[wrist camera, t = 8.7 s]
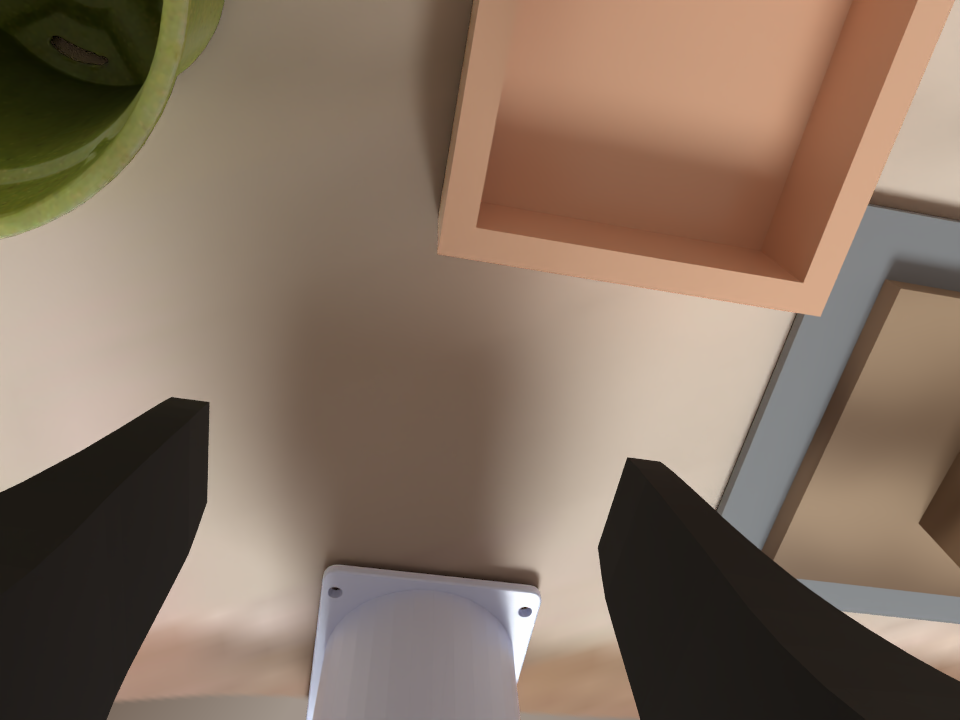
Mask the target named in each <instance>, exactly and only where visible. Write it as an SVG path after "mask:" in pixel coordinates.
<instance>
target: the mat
mask: <svg viewBox="0 0 960 720" xmlns="http://www.w3.org/2000/svg"><path fill="white" fill-rule="evenodd" d="M885 279H887V280H893V281H899V282H905V283H911V284H916V285H922V286H928V287H934V288H939V289H945V290H951V291H957V292H960V221H959V220H953V219H948V218H943V217H937V216H932V215H927V214H921V213H916V212H910V211H905V210H900V209H894V208H889V207H884V206H878V205H873V204H868V206H867V208H866V211H865V213H864V215H863V218H862V220H861V222H860V225H859V227H858V229H857V232H856V234H855V237H854V239H853V241H852V244H851V246H850V248H849V251H848V253H847V255H846V258H845V260H844V262H843V265H842V267H841V269H840V272H839V274H838V277H837V279H836V281H835V284H834V286H833V288H832V291H831V293H830V295H829V298H828V300H827V302H826V305H825V307H824V309H823V312H822V314H821V317H819V316H813V315H806V314H800V313H797V316H796V318H795V320H794V323H793V325H792V328H791V330H790V333H789V335H788V338H787V340H786V342H785V345H784V347H783V350H782V352H781V355H780V357H779V360H778V362H777V364H776V367H775V369H774V372H773V374H772V377H771V379H770V382H769V384H768V386H767V389H766V391H765V394H764V396H763V399H762V401H761V404H760V406H759V409H758V411H757V413H756V416H755V418H754V421H753V423H752V426H751V428H750V431H749V433H748V435H747V438H746V440H745V443H744V445H743V448H742V450H741V453H740V455H739V457H738V460H737V462H736V465H735V467H734V470H733V472H732V475H731V477H730V479H729V482H728V484H727V487H726V489H725V492H724V494H723V497H722V499H721V501H720V504H719V506H718V509H717V512H718V513H719V514H720V515H721V516H722V517H723V518H724V519H725V520H727V521H728V522H729V523H730V524H731V525H732V526H733V527H734V528H735V529H737V530H738V531H739V532H740V533H741V534H742V535H743V536H745V537H746V538H747V539H748V540H749V541H750V542H752V543H753V544H754V545H755V546H756V547H757V548H759V549H760V550H761V551H762V549H763V546H764V544H765V542H766V540H767V538H768V535H769V533H770V531H771V529H772V527H773V524H774V522H775V520H776V518H777V516H778V513H779V511H780V509H781V507H782V505H783V503H784V500H785V498H786V496H787V494H788V492H789V489H790V487H791V485H792V483H793V481H794V478H795V476H796V474H797V472H798V470H799V467H800V465H801V463H802V461H803V459H804V457H805V454H806V452H807V450H808V448H809V446H810V443H811V441H812V439H813V437H814V435H815V432H816V430H817V428H818V426H819V424H820V421H821V419H822V417H823V415H824V413H825V411H826V408H827V406H828V404H829V402H830V400H831V397H832V395H833V393H834V391H835V389H836V386H837V384H838V382H839V380H840V378H841V375H842V373H843V371H844V369H845V367H846V365H847V362H848V360H849V358H850V356H851V354H852V351H853V349H854V347H855V345H856V343H857V340H858V338H859V336H860V334H861V332H862V329H863V327H864V325H865V323H866V321H867V319H868V316H869V314H870V312H871V310H872V308H873V305H874V303H875V301H876V299H877V297H878V294H879V292H880V290H881V288H882V286H883V283H884V281H885ZM797 580H798V581H800V582H801V583H802V584H804V585H805V586H806V587H808V588H809V589H810V590H812V591H813V592H815V593H816V594H817V595H819V596H820V597H822V598H823V599H824V600H826V601H827V602H829V603H830V604H832V605H833V606H834V607H836V608H837V609H839V610H840V611H845V612H854V613H863V614H872V615H882V616H891V617H900V618H909V619H918V620H928V621H937V622H946V623H955V624H960V597H954V596H945V595H937V594H928V593H919V592H910V591H901V590H893V589H884V588H875V587H866V586H857V585H849V584H840V583H831V582H822V581H814V580H805V579H797Z"/></svg>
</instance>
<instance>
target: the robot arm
mask: <svg viewBox="0 0 960 720" xmlns="http://www.w3.org/2000/svg"><path fill="white" fill-rule="evenodd" d="M208 441H209V402H204V401H196V400H189V399H181V398H174V397H171V398H169V399H167V400H165V401H163V402H162V403H160V404H158V405H157V406H155V407H153V408H152V409H150V410H148V411H147V412H145V413H143V414H142V415H140V416H139V417H137V418H135V419H134V420H132V421H131V422H129V423H127V424H126V425H124V426H122V427H121V428H119V429H117V430H116V431H114V432H112V433H111V434H109V435H107V436H106V437H104V438H102V439H100V440H99V441H97V442H95V443H94V444H92V445H90V446H89V447H87V448H85V449H84V450H82V451H80V452H78V453H76V454H75V455H73V456H71V457H69V458H67V459H65V460H63V461H61V462H59V463H58V464H56V465H54V466H52V467H50V468H48V469H46V470H44V471H42V472H41V473H39V474H37V475H35V476H33V477H31V478H29V479H27V480H25V481H24V482H21V483H19V484H17V485H15V486H13V487H11V488H9V489H7V490H5V491H3V492H0V720H106V719H107V717H108V715H109V712H110V709H111V707H112V704H113V702H114V700H115V697H116V695H117V693H118V691H119V689H120V687H121V685H122V682H123V680H124V678H125V676H126V674H127V672H128V670H129V668H130V666H131V664H132V662H133V660H134V658H135V656H136V655H137V653H138V651H139V649H140V647H141V645H142V643H143V641H144V639H145V637H146V635H147V633H148V632H149V630H150V628H151V626H152V624H153V622H154V620H155V618H156V616H157V614H158V612H159V610H160V609H161V607H162V605H163V603H164V601H165V599H166V597H167V595H168V593H169V591H170V589H171V587H172V585H173V584H174V582H175V580H176V578H177V576H178V574H179V572H180V570H181V568H182V566H183V564H184V562H185V560H186V558H187V556H188V554H189V551H190V549H191V546H192V543H193V540H194V538H195V535H196V532H197V530H198V527H199V524H200V521H201V518H202V515H203V512H204V509H205V507H206V504H207V483H208ZM598 552H599V559H600V567H601V575H602V581H603V587H604V593H605V599H606V603H607V606H608V610H609V614H610V617H611V621H612V624H613V628H614V631H615V635H616V638H617V642H618V645H619V648H620V652H621V655H622V659H623V662H624V665H625V669H626V672H627V675H628V679H629V682H630V686H631V689H632V692H633V696H634V699H635V702H636V706H637V709H638V713H639V716H640V720H960V681H958V680H956V679H954V678H952V677H950V676H948V675H946V674H944V673H942V672H940V671H939V670H937V669H935V668H933V667H932V666H930V665H928V664H926V663H924V662H923V661H921V660H919V659H917V658H915V657H914V656H912V655H910V654H908V653H907V652H905V651H903V650H902V649H900V648H898V647H897V646H895V645H894V644H892V643H890V642H889V641H887V640H885V639H884V638H882V637H880V636H879V635H877V634H875V633H874V632H872V631H870V630H869V629H867V628H866V627H864V626H863V625H861V624H860V623H858V622H856V621H855V620H853V619H852V618H850V617H849V616H847V615H846V614H844V613H843V612H841V611H840V610H839V609H837V608H836V607H834V606H833V605H832V604H830V603H829V602H827V601H826V600H824V599H823V598H822V597H820V596H819V595H817V594H816V593H815V592H813V591H812V590H810V589H809V588H808V587H806V586H805V585H804V584H802V583H801V582H800V581H798V580H797V579H796V578H794V577H793V576H792V575H790V574H789V573H788V572H787V571H785V570H784V569H783V568H782V567H781V566H779V565H778V564H777V563H776V562H774V561H773V560H772V559H771V558H769V557H768V556H767V555H766V554H765V553H763V552H762V551H761V550H760V549H759V548H757V547H756V546H755V545H754V544H753V543H752V542H750V541H749V540H748V539H747V538H746V537H745V536H743V535H742V534H741V533H740V532H739V531H738V530H737V529H735V528H734V527H733V526H732V525H731V524H730V523H729V522H728V521H727V520H725V519H724V518H723V517H722V516H721V515H720V514H719V513H718V512H717V511H716V510H714V509H713V508H712V507H711V506H710V505H709V504H708V503H707V502H706V501H705V500H704V499H703V498H701V497H700V496H699V495H698V494H697V493H696V492H695V491H694V490H693V489H692V488H691V487H689V486H688V485H687V484H686V483H685V482H684V481H683V480H682V479H681V478H679V477H678V476H677V475H676V474H675V473H674V472H673V471H671V470H670V469H669V468H668V467H666V466H665V465H664V464H663V463H661V462H658V461H651V460H643V459H636V458H628V457H627V460H626V463H625V466H624V469H623V472H622V475H621V478H620V481H619V484H618V487H617V491H616V494H615V497H614V500H613V503H612V506H611V509H610V512H609V515H608V518H607V521H606V524H605V527H604V530H603V533H602V536H601V539H600V542H599V545H598ZM332 587H337V588H340V590H334V589H332ZM540 604H541V595H540V591H539V589H538V588H536V587H535V586H532V585H525V584H516V583H506V582H497V581H488V580H478V579H469V578H460V577H450V576H441V575H432V574H422V573H413V572H404V571H394V570H385V569H376V568H366V567H357V566H348V565H332V566H329V567H328V568H327V569H326V570H325V572H324V575H323V579H322V588H321V596H320V605H319V613H318V622H317V630H316V639H315V647H314V656H313V665H312V673H311V682H310V690H309V699H308V708H307V716H306V720H521V719H520V710H519V701H518V692H517V682H518V678H519V675H520V672H521V668H522V665H523V661H524V658H525V655H526V651H527V648H528V645H529V641H530V638H531V634H532V631H533V628H534V624H535V621H536V618H537V614H538V611H539V608H540ZM522 607H529V608H527V609H520V608H522Z"/></svg>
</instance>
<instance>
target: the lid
mask: <svg viewBox="0 0 960 720" xmlns="http://www.w3.org/2000/svg"><path fill="white" fill-rule="evenodd" d="M762 552H763V553H765V554H766V555H767V556H768V557H769V558H771V559H772V560H773V561H774V562H776V563H777V564H778V565H779V566H781V567H782V568H783V569H784V570H785V571H787V572H788V573H789V574H790V575H792V576H793V577H794V578H796V579H805V580H814V581H822V582H831V583H840V584H849V585H857V586H866V587H875V588H884V589H893V590H901V591H910V592H919V593H928V594H937V595H945V596H954V597H960V292H957V291H951V290H945V289H939V288H934V287H928V286H922V285H916V284H911V283H905V282H899V281H893V280H887V279H885V281H884V283H883V286H882V288H881V290H880V292H879V294H878V297H877V299H876V301H875V303H874V305H873V308H872V310H871V312H870V314H869V316H868V319H867V321H866V323H865V325H864V327H863V329H862V332H861V334H860V336H859V338H858V340H857V343H856V345H855V347H854V349H853V351H852V354H851V356H850V358H849V360H848V362H847V365H846V367H845V369H844V371H843V373H842V375H841V378H840V380H839V382H838V384H837V386H836V389H835V391H834V393H833V395H832V397H831V400H830V402H829V404H828V406H827V408H826V411H825V413H824V415H823V417H822V419H821V421H820V424H819V426H818V428H817V430H816V432H815V435H814V437H813V439H812V441H811V443H810V446H809V448H808V450H807V452H806V454H805V457H804V459H803V461H802V463H801V465H800V467H799V470H798V472H797V474H796V476H795V478H794V481H793V483H792V485H791V487H790V489H789V492H788V494H787V496H786V498H785V500H784V503H783V505H782V507H781V509H780V511H779V513H778V516H777V518H776V520H775V522H774V524H773V527H772V529H771V531H770V533H769V535H768V538H767V540H766V542H765V544H764V546H763V549H762Z"/></svg>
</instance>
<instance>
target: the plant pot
mask: <svg viewBox="0 0 960 720" xmlns="http://www.w3.org/2000/svg"><path fill="white" fill-rule="evenodd" d="M223 4H224V0H0V239H3V238H7V237H12V236H16V235H18V234H21V233H24V232H26V231H29V230H32V229H35V228H37V227H40V226H42V225H45V224H47V223H49V222H51V221H53V220H55V219H57V218H59V217H61V216H63V215H65V214H67V213H69V212H70V211H72V210H74V209H75V208H77V207H78V206H80V205H82V204H83V203H85V202H86V201H87V200H89V199H90V198H91V197H92V196H94V195H95V194H96V193H97V192H99V191H100V190H101V189H102V188H103V187H105V186H106V185H107V184H108V183H109V182H111V181H112V180H113V179H114V178H115V177H116V176H117V175H118V174H119V173H120V172H121V171H122V170H123V169H124V168H125V167H126V166H127V165H128V164H129V163H130V161H131V160H132V159H133V158H134V156H135V155H136V154H137V153H138V151H139V150H140V149H141V148H142V146H143V145H144V144H145V142H146V140H147V139H148V137H149V135H150V134H151V132H152V130H153V129H154V127H155V125H156V123H157V122H158V120H159V118H160V117H161V115H162V113H163V111H164V108H165V106H166V104H167V101H168V99H169V97H170V95H171V92H172V89H173V86H174V84H175V81H176V78H177V76H178V75H179V74H180V73H182V72H183V71H184V70H185V69H187V68H188V67H189V66H190V65H191V64H192V63H193V62H194V61H195V60H196V59H197V57H198V56H199V55H200V54H201V53H202V51H203V50H204V49H205V47H206V46H207V44H208V42H209V41H210V39H211V37H212V36H213V34H214V32H215V30H216V28H217V25H218V23H219V20H220V17H221V13H222V9H223ZM52 36H60V37H62V38H63V39H65V40H66V41H68V42H70V43H73V44H75V45H76V46H78V47H81V48H82V49H86V50H88V51H90V52H94V53H96V55H98V56H99V55H100V56H105V57H106V58H107V59H108V63H107V62H106V63H105V64H104V65H94V64H85V63H81V62H78V61H75V60H73V59H71V58H69V57H67V56H65V55H63V54H62V53H60V52H59V51H58V50H57V49H56V48H55V47H54V46H53V45H52V44H51V39H52Z"/></svg>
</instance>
